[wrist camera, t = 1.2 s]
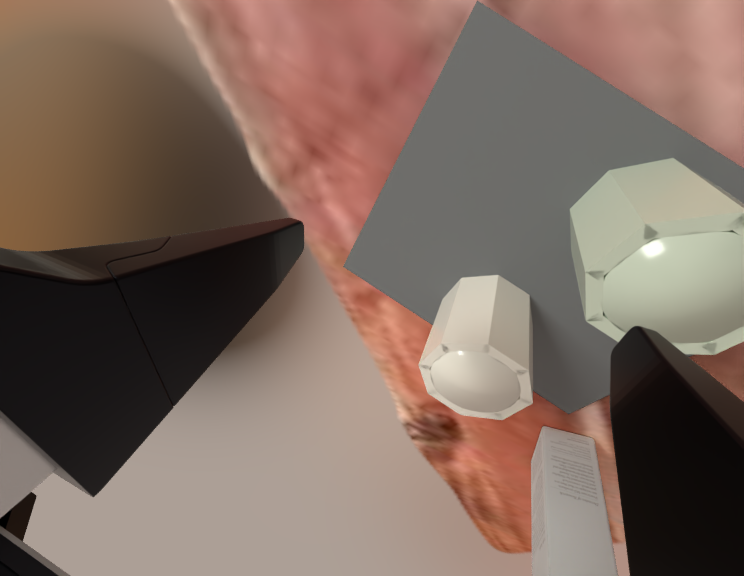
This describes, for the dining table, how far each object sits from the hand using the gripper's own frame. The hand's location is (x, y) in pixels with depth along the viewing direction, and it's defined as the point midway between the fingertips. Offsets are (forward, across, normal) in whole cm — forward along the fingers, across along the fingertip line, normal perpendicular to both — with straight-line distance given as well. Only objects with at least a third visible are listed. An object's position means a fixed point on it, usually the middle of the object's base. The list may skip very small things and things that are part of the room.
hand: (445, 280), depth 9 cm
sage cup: (+13, -8, +1) cm, 15 cm away
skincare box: (+14, -15, +23) cm, 31 cm away
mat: (+14, -5, +5) cm, 15 cm away
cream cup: (+13, -3, +10) cm, 16 cm away
